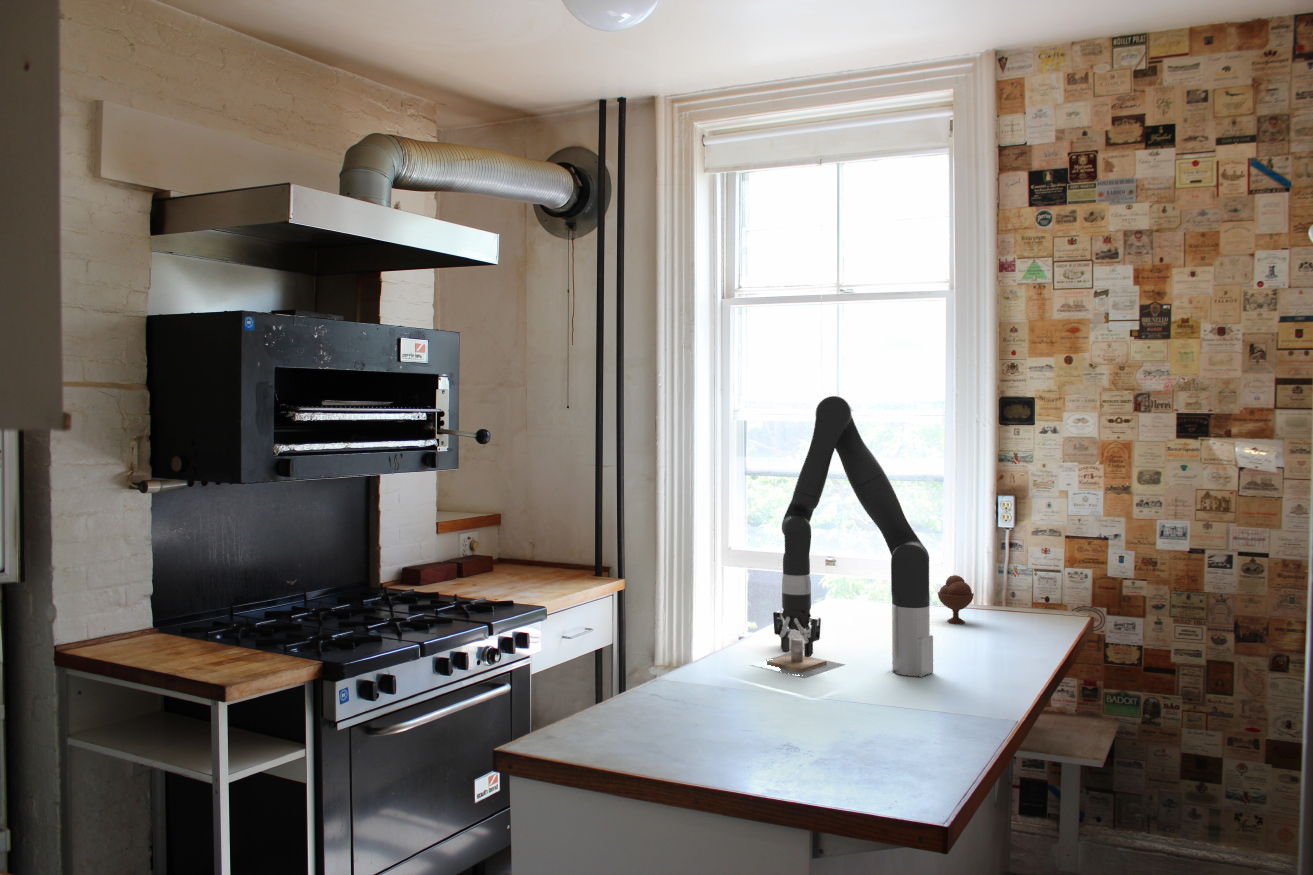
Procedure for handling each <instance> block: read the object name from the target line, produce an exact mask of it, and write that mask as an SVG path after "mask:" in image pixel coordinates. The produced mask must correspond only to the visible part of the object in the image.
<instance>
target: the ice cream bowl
mask: <svg viewBox="0 0 1313 875" xmlns="http://www.w3.org/2000/svg"><path fill="white" fill-rule="evenodd" d="M974 594H975V593H973V592H972V588H971V586H970V585H969V584H968V583H967V582H966V581H965V580H964V578H963V577H961V576H960V575H957V574H955V575H954V574H953V575H950V576H949V577H948V578H946V581H945V584H944V585H943V586H941V587H940V589H939V591H938V592H937V596H938V599H939V601H940V603H941V604H943V605H944V606H945V607H947V609H950V610H951V611H952V617H950V618H949V619H947V621H946V623H947V624H949V625H951V624H952V625H965V623H966V622H965V620H964V619H962V618H960V615H959V612H960V611H961V610H964V609H965V608H967V607H968V606H969V605H970V604H971V603H972V601H973V599H974Z"/></svg>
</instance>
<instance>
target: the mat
mask: <svg viewBox="0 0 1313 875" xmlns="http://www.w3.org/2000/svg"><path fill="white" fill-rule="evenodd" d="M790 654H791V652H787V653H785V654H781V655H779V656H774V657H772V658H771V659H776V658H779V657H783V656H786V655H790ZM810 657H811V658H814V657H813V656H810ZM815 658H816V657H815ZM816 659H818V658H816ZM820 659H821V658H820ZM765 660H766V661H767V659H765ZM821 660H823V659H821ZM824 660H825V661H827V665H824V666H821V667H818V668H815V669H812V670H808V671H805V672H802V673H800V672H796V671H792V670H788V669H783V668H780V669H781V670H780V671H781V672H782V673H781V674H784V673H786V674H785V675H788V673H789V674H791V675H790V676H793V675H792V674H794V675H795V674H796V675H798V674H799V675H800V676H796V677H797V678H802V679H807V678H810V677H813V676H815V675H819V674H822V673H825V672H828V671H830V670H833V669H836V668H840V667H843V666H846V664H844V663H840V662H835V661H831V660H826V659H824ZM780 671H779V672H778V673H780ZM802 675H803V676H802Z"/></svg>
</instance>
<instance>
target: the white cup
mask: <svg viewBox="0 0 1313 875" xmlns="http://www.w3.org/2000/svg"><path fill="white" fill-rule="evenodd" d="M781 611H782V612H783V610H781ZM784 623H785V620H784V618H783V625H784ZM804 630H806V628H805V629H804ZM788 637H789V650H791V639H802V640H803V649H804V643H806V642H805V640H804V638H803V636H802V635H801V634H800V632H799V631H797V630H795V629H793V630H791V632H790V634H789V636H788Z"/></svg>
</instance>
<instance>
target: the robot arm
mask: <svg viewBox="0 0 1313 875" xmlns="http://www.w3.org/2000/svg"><path fill="white" fill-rule="evenodd" d="M809 445H810V446H809V448H808V451H807V454H806V457H805V460H804V462H803V464H802V468H801V470H800V473H799V475H798V478H797V481H796V484H795V488H794V490H793V494H792V497H791V501H790V502H789V504H788V507H787V509H786V511H785V514H784V516H783V518H782V519H783V520H782V522H781V531H782V534H783V535H784V553H783V556H782V579H781V580H782V581H781V607H782V610H777V611H774V612H773V613H772V616H773V618H772V619H773V631H774V632H773V633H774V634H775V635H778V636H779V638H780V649H781V651H782V652H783V653H785V654H787V653H790V649H789V637H788V636H789V634H790V632H791V630H793V629H795V630H797V631H799V632H800V634H801V635H802V636H803V638H804V640H805V642H806V643H804V648H803V650H804V652H803V653H804V654H803V656H805V657H812V655H813V654H814V652H813V651H814V642H817V641H819V640H820V639H821V625H822V624H821V622H822V619H821V618H820V617H813V616H812V615H811V609H812V582H811V581H812V580H811V569H810V568H811V564H810V563H811V560H810V550H811V543H812V527H811V524H810V522H811V519H812V516H813V513H814V510H815V509H816V508H817V507H818V505H819V503H820V500H821V497H822V496H823V495H822V494H823V491H824V488H825V486H826V482H827V477H828V474H829V470H830V465H831V461H832V458H833V455H834V452H835V451H836V452H837V454H838V457H839V459H840V462H841V465H842V467H843V470H844V473H845V474H846V477H847V480H848V482H849V485H850V486H851V488H852V491H853V492H854V494H855V495H856V496H855V497H856V498H857V499H858V502H859V503H860V504H861V507H862V508H863V509H864V511H865V512H866V514H867V515H868V517H869V518H870V519H871V520H872V521H873V523H874V524H875V526H877V528H878V530H879V531H880V533H881V535H882V536H883V539H884V541H885V542H886V546H887V547H888V550H889V553H890V556H891V558H890V559H891V560H890V575H891V576H890V580H891V582H890V584H891V585H890V590H891V591H890V592H891V639H892V641H891V643H892V644H891V649H892V650H891V651H892V652H891V653H892V654H891V655H892V662H891V663H892V668H891V669H892V672H893V673H894V674H897V673H898V675H900V674H901V676H906V675H908V677H918V676H919V677H920V678H923V677H926V676H927V674H928V675H931V674H933V673H934V636H933V635H932V634H930V632H931V631H930V630H931V629H930V626H931V625H930V614H931V613H930V554H929V552H928V550H927V549H926V547H925V545H924V544H923V543H922V541H921V540H920V539H919V537H918V535H917V534H916V533H915V531H914V529H913V528H912V527H911V524H910V523H909V522H908V520H907V518H906V516H905V513H904V511H903V508H902V506H901V503H900V501H899V498H898V496H897V494H896V492H895V490H894V488H893V486H892V484H891V482H890V480H889V478H888V477H887V475H886V473H885V470H884V469H883V467H882V466H881V464H880V463H879V461H878V460H877V458H876V457H875V456H874V454H873V452H871V450H870V449H869V448H868V446H867V445H866V443H865V442H864V440H863V439H862V436H861V435H860V433H859V430H858V428H857V425H856V423H855V420H854V417H853V415H852V408H851V406H850V404H849V403H848V401H847V400H846V399H845V398H842V397H841V396H838V395H837V396H836V395H832V396H831V395H830V396H827V397H825V398H823V399H822V400H821V401H819V403H818V404H817V406H816V409H815V421H814V428H813V434H812V438H811V442H810V444H809ZM782 611H783V612H782ZM783 618H784V620H785V623H784V625H783ZM805 628H806V630H804V629H805ZM930 673H931V674H930ZM925 675H926V676H925Z"/></svg>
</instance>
